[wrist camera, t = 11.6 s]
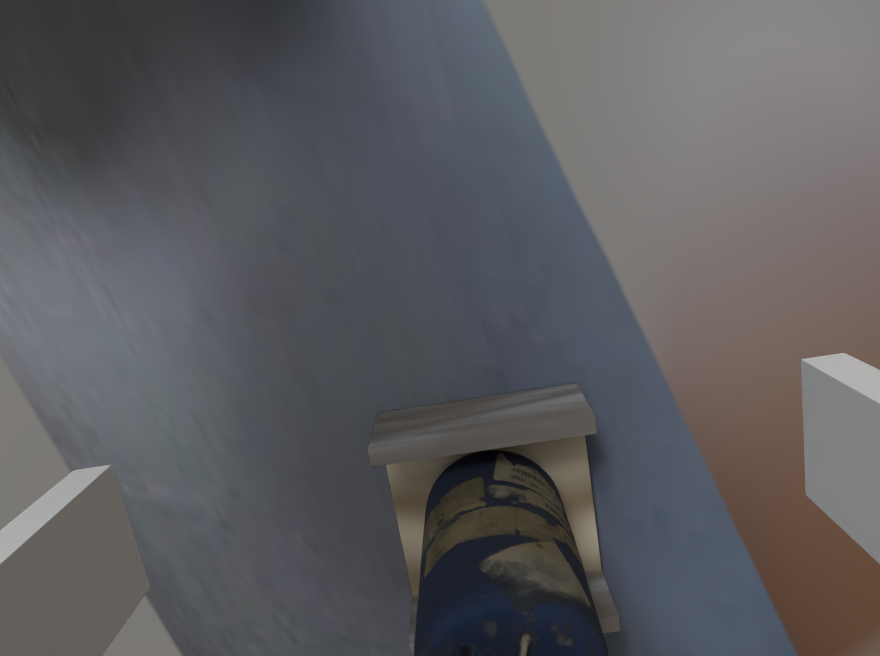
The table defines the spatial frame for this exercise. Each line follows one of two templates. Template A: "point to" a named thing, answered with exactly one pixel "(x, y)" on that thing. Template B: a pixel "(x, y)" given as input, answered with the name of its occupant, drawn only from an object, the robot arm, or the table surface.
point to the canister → (501, 566)
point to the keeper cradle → (493, 428)
